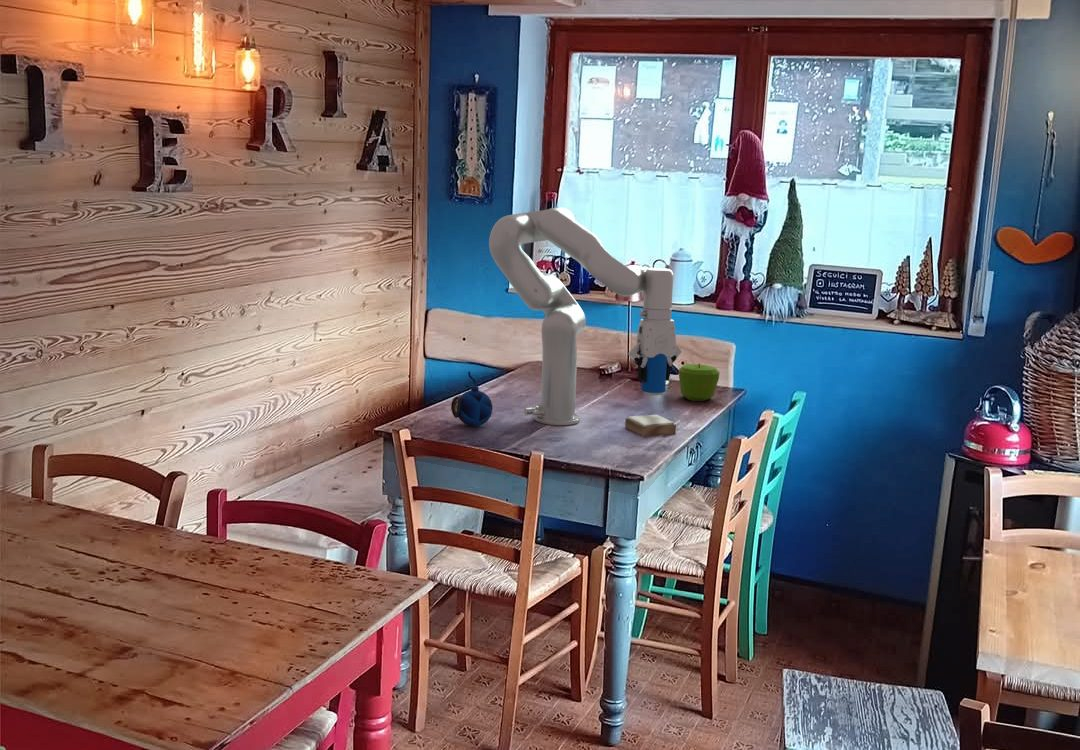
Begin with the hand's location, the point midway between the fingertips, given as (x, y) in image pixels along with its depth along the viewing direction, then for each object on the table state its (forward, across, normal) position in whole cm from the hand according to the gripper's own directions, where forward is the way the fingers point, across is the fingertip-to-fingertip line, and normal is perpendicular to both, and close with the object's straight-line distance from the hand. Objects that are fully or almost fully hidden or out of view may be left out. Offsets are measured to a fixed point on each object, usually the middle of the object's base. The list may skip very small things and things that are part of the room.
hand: (653, 379), depth 294 cm
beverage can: (+4, 0, 0) cm, 4 cm away
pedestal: (+14, 0, 0) cm, 14 cm away
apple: (+14, +34, +30) cm, 48 cm away
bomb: (+14, -45, +18) cm, 51 cm away
